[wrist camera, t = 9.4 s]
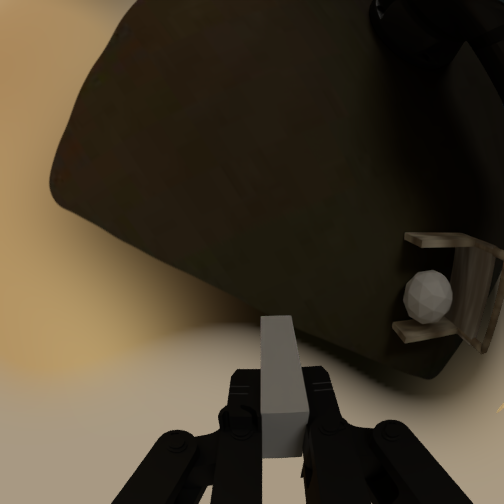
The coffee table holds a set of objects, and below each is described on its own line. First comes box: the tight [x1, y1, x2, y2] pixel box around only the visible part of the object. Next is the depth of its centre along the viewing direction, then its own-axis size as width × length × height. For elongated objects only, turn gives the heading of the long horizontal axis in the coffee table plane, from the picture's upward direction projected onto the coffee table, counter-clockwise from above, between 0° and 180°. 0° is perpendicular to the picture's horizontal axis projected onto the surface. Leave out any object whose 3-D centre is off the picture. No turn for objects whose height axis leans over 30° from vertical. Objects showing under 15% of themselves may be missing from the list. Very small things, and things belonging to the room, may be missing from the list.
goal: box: [392, 232, 504, 354], centre depth 32 cm, size 12×15×13 cm
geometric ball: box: [403, 270, 453, 324], centre depth 35 cm, size 8×8×8 cm
